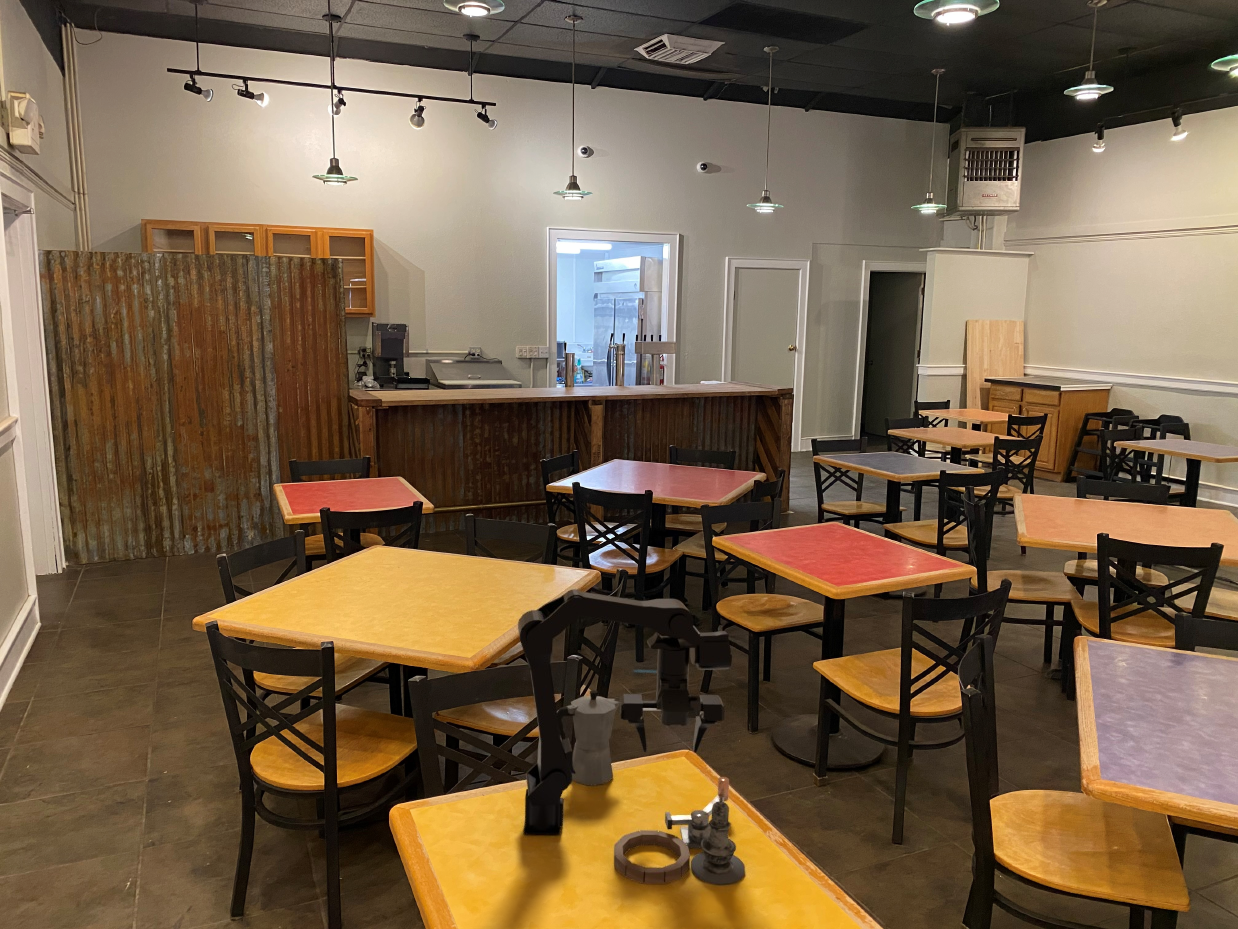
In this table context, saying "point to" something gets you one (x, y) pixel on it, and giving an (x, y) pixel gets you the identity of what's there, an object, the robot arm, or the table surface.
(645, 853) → the table surface
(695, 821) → the clamp
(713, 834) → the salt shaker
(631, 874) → the socket ring
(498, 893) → the table surface
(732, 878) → the pad
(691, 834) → the pivot block
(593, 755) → the coffeepot
